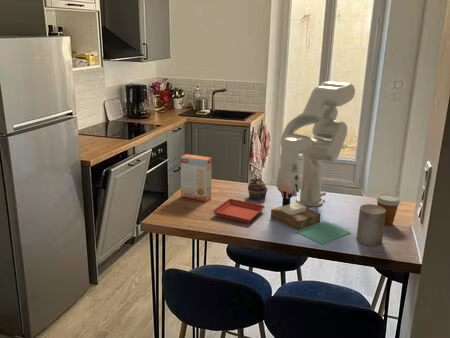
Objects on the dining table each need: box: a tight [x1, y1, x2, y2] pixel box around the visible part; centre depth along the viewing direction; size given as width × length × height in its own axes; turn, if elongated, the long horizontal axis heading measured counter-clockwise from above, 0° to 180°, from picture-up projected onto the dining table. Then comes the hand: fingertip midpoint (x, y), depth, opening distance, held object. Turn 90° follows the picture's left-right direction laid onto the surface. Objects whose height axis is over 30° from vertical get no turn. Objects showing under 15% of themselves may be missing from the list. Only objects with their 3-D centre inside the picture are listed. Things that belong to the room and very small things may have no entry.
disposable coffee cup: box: [376, 193, 401, 227], centre depth 187 cm, size 10×10×12 cm
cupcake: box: [247, 177, 268, 201], centre depth 213 cm, size 10×10×10 cm
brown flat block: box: [270, 202, 321, 231], centre depth 188 cm, size 14×16×4 cm
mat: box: [294, 221, 351, 245], centre depth 177 cm, size 18×14×1 cm
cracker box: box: [180, 153, 213, 202], centre depth 209 cm, size 14×6×21 cm, turn 65°
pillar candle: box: [356, 203, 386, 247], centre depth 169 cm, size 10×10×15 cm
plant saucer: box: [212, 198, 265, 224], centre depth 193 cm, size 18×18×3 cm
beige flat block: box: [281, 201, 307, 215], centre depth 188 cm, size 9×6×2 cm, turn 127°
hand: (286, 205), depth 192 cm, fingers closed
